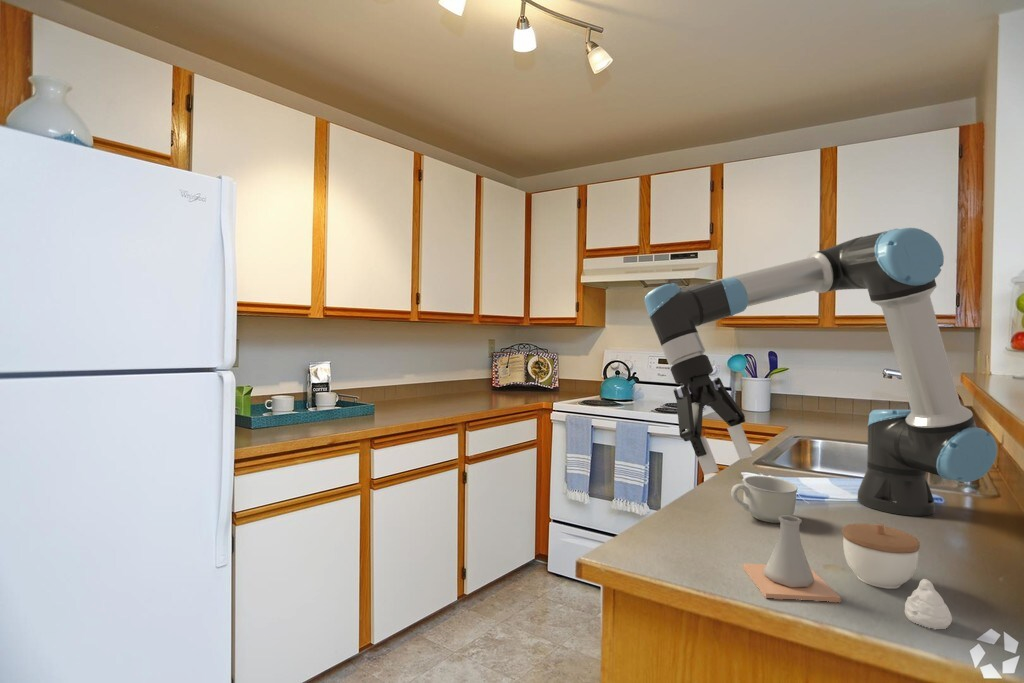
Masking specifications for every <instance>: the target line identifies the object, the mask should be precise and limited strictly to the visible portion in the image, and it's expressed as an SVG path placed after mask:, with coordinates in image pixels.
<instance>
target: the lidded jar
mask: <svg viewBox="0 0 1024 683" xmlns="http://www.w3.org/2000/svg"><path fill="white" fill-rule="evenodd" d="M842 536H843V537H842V546H843V547H842V548H843V553H844V558H845V560H846V563H847V565H848V566H849V568H850V569H851V571H852V572H853V573H854V574H855V575H856V576H857V579H858V581H860V582H863V583H864V584H866V585H870V586H872V587H876V588H879V589H886V590H896V589H899V588H901V586H902V585H903V584H905V583H907V582H909V580H910V579H911V578H913V575H914V574H915V572H916V569H917V567H918V561H919V550H920V546H921V543H920V541H919V540H918V538H917V537H916V536H914V535H912V534H910V533H908V532H906V531H902V530H900V529H897V528H892V527H889V526H886V525H885V524H882V523H876V524H870V523H850V524H847V525H844V526H843V527H842Z"/></svg>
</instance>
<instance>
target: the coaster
mask: <svg viewBox="0 0 1024 683" xmlns="http://www.w3.org/2000/svg"><path fill="white" fill-rule="evenodd" d="M766 565H767V564H762V563H761V564H760V563H758V564H757V563H742V569H743V570H744V571H746V572H745V573H746V574H747V576H748V575H749V576H748V577H749V578H750V580H751V579H752V580H753V581H752V580H751V581H752V582H753V584H754V583H755V584H756V585H755V584H754V585H755V586H756V587H758V588H759V589H760V590H759V589H758V588H757V589H758V590H759V592H760V591H761V592H762V593H761V592H760V593H761V595H762V596H763V595H764V596H765V597H764V596H763V597H764V598H765V599H766V598H774V599H773V600H783V599H796V600H795V601H798V600H797V599H800V600H799V601H801V599H802V600H815V601H814V602H819V601H827V602H826V603H837V602H839V603H841V596H840V595H839V594H838V593H837V592H836V591H834V589H833V588H831V587H830V586H829V585H828V583H826V581H825V580H824V579H822V578H821V577H820V575H818V574H817V573H816V572H815V571H814V570H813V569H812V568H811V567H810V569H811V572H812V575H813V577H814V580H815V581H814V582H813V583H812V584H811V585H810V586H808V587H789V586H786V585H783V584H780V583H777V582H774V581H772V580H771V579H769V578H768V577H767V576H766V575H764V574H763V572H764V569H765V567H766ZM816 600H817V601H816ZM828 601H829V602H828Z"/></svg>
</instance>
